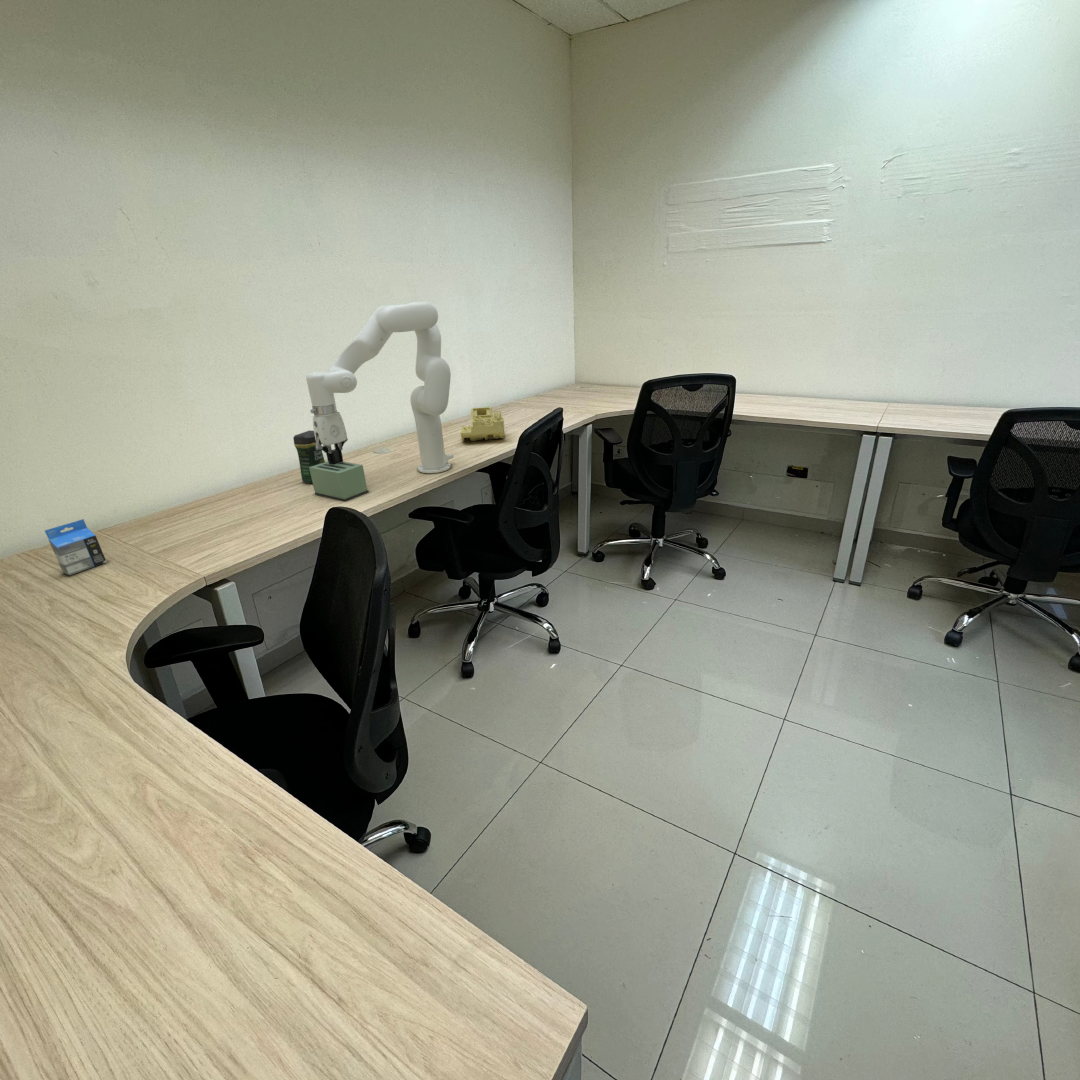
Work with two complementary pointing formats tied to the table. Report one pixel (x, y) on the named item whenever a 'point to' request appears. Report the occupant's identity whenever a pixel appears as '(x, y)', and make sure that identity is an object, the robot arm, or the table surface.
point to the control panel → (484, 425)
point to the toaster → (338, 480)
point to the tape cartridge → (75, 547)
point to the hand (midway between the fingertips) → (335, 462)
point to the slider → (336, 455)
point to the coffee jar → (307, 453)
